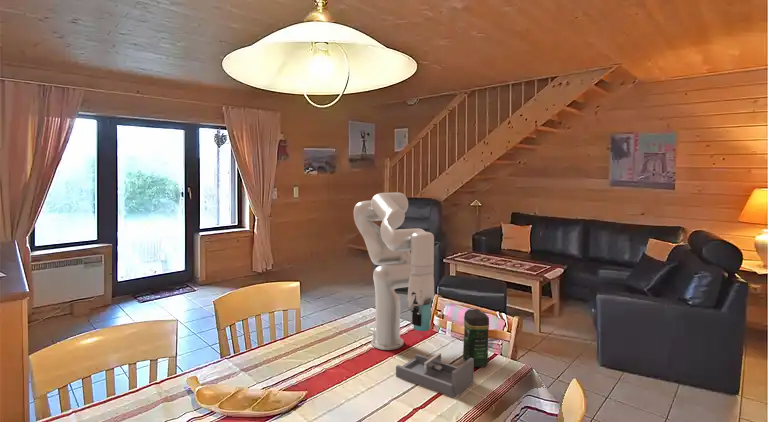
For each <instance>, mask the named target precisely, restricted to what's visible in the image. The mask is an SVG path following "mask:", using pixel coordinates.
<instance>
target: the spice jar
mask: <svg viewBox="0 0 768 422" xmlns="http://www.w3.org/2000/svg"><path fill="white" fill-rule="evenodd" d="M415 304H418V302H415ZM415 308H417V310H418V306H415ZM420 314H421V326H416V325H413V330H414V331H417V332H418V331H419V332H427V331H430V330H431V321H430V315H431V316H432V308H431V298H430V299H428V300H425V301H424V304H423V305H422V306H421V311H420Z"/></svg>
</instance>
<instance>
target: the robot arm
mask: <svg viewBox="0 0 768 422" xmlns="http://www.w3.org/2000/svg"><path fill="white" fill-rule="evenodd" d="M353 208H354V209H353V221H354V224H355V226H356V228H357V230H358V231H359V233H360V235H361V236H362V238H363V240H364V243H365V245H366V246H365V247H366V249H367V253H368V256H369V258H370V260H371V262H372V263H373V265H376V266H377V267H375V268H374V270H373V271H372V272H373V273H372V275H373V276H372V277H373V285H374V292H375V324H374V325H375V328H374V327H371V328H370V329H369V331H368V335H370V336H372V339H371V345H372V347H374V348H376V349H378V350H383V351H393V350H394V351H395V350H398V349H400V348H402V347H404V339H403V338H402V337H401V335H400V334H401V299H400V296H399V295H398V294H397V292H396V291H395V290H396V289H401V288H408V289H407V303H408V305H407V307H408V309H409V310H410V311H411V312H410V313H411V316H412V317H411V323H412V326H414V325H416V326H421V314H420V311H421V306H422V305H423V304H424V301H425V300H428V299H430V298H431V309H432V308H433V306H432V305H433V303H434V299H435V297H436V296H435V277H434V275H435V273H434V272H435V271H434V268H435V266H434V264H435V260H434V257H435V256H434V254H435V236H434V234H433V233H432V232H429V231H425V230H424V229H422V228H418V227H416V228H400V229H398V228H399V227H400V226H402V224H403V223H404V221H405V219H406V218H405V217H406V215H405V213H407V212H408V211H407V210H408V208H409V200H408V198H407V196H406V195H405V194H404V193H402V192H395V191H394V192H379V193H377V194H375V195H374V196H372V198H371V200H363V201H359V202H357V203H356V204H355V206H354V207H353ZM378 221H381V224H380V226H379V225H378V224H377V223H375V222H378ZM415 302H418V304H415ZM415 306H418V310H417V308H415ZM431 321H432V314H431V315H430V322H431Z"/></svg>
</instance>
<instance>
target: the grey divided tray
mask: <svg viewBox="0 0 768 422" xmlns="http://www.w3.org/2000/svg"><path fill="white" fill-rule="evenodd" d="M431 358H432V357H428V356H426V355H422V354H419V353H415V354H414V358H413V359H411V360H410V361H408V362H406V363H404V364H403V365H399V364H396V366H395V377H397V378H399V379H402V380H405V381H408V382H410V383H413V384H415V385H418V386H421V387H424V388H426V389H428V390H432V391H435V392H437V393H439V394H442V395H444V396H445V395H446V396H447V397H449V398H452V399H453V398H454V399H456V398H457V397H458V396H459V395H460V394H461V393H463V391H465V390H466V389H467V388H469V387H470V386H471V385H472V384H473V383H474V371H475V370H474V359H473V358H469V359H468V360H467V361H465V360H464V362H463V363H462V364H460V365H459V366H456V365H453V364H450V363H447V362H444V361H441V366H443V372H442V373H440V372H437V373H436V374H435V375H433V376H432V377H431V376H428V375H425V374H424V363H425V362H426V361H428V360H429V359H431Z"/></svg>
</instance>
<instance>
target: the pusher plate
mask: <svg viewBox="0 0 768 422" xmlns="http://www.w3.org/2000/svg"><path fill="white" fill-rule="evenodd" d="M430 358H431V359H429V360H428V361H426V362H425V363H424V374H425V375H428V376H431V377H432V376H433V375H435V374H436V373H437V372H440V373H442V372H443V366H441V362H442V354H441V352H438V353H437V354H435V355H434V356H432V357H430Z"/></svg>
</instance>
